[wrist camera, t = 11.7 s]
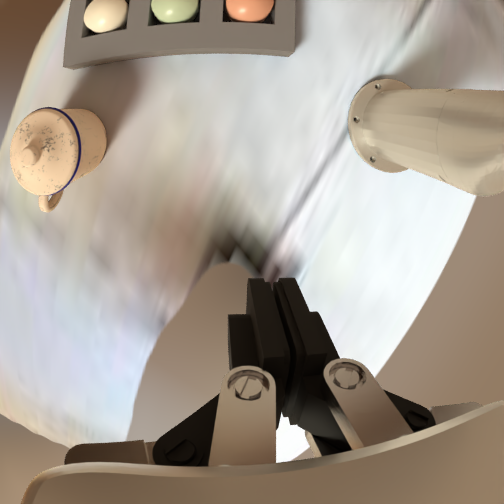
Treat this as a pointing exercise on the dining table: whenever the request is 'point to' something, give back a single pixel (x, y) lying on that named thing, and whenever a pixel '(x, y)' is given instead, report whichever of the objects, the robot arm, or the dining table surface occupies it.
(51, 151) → the teacup with lid
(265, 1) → the terracotta button
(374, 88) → the robot arm
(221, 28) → the button panel
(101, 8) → the cream button
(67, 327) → the dining table surface
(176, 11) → the sage button
